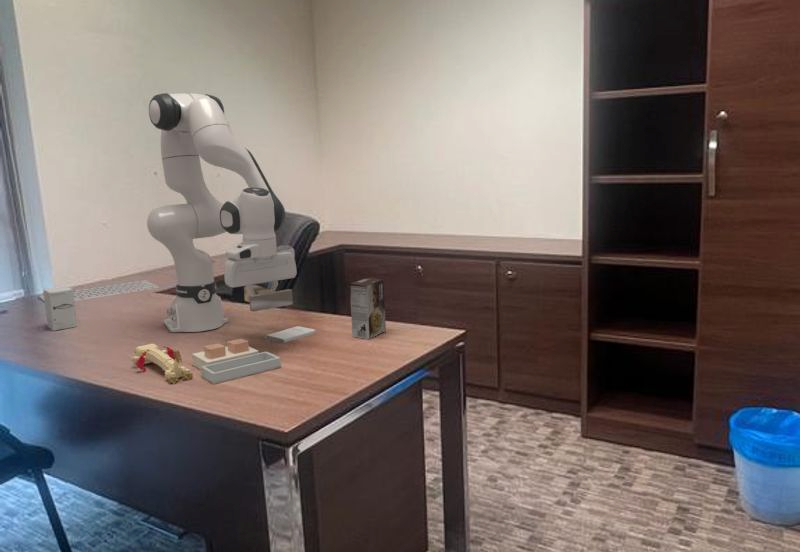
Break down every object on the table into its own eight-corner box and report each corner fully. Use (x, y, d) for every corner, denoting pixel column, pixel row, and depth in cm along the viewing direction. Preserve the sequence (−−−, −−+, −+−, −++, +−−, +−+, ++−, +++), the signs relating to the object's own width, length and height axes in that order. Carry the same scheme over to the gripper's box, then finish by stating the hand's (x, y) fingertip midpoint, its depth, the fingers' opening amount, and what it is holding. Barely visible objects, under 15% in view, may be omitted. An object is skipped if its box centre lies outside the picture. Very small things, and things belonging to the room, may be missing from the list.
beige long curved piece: (201, 381, 169) (160, 353, 188) (199, 348, 167) (158, 323, 185) (161, 392, 163) (123, 361, 181) (159, 357, 161) (121, 330, 179)
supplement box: (53, 331, 218) (48, 292, 215) (47, 327, 223) (42, 289, 221) (77, 327, 222) (73, 289, 220) (71, 323, 228) (67, 285, 226)
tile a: (204, 355, 176) (203, 346, 175) (219, 352, 178) (218, 343, 178) (210, 359, 173) (210, 349, 172) (225, 355, 175) (225, 346, 175)
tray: (201, 376, 169) (200, 366, 169) (267, 360, 180) (266, 351, 179) (213, 384, 163) (212, 373, 163) (281, 367, 174) (280, 357, 174)
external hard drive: (265, 340, 201) (297, 330, 211) (284, 344, 196) (316, 334, 205) (265, 334, 201) (297, 325, 210) (283, 339, 196) (315, 329, 205)
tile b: (228, 350, 180) (227, 341, 179) (242, 347, 182) (241, 338, 182) (234, 353, 176) (233, 344, 176) (248, 350, 179) (248, 341, 178)
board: (192, 365, 178) (191, 353, 178) (242, 353, 187) (241, 343, 186) (208, 374, 171) (207, 362, 170) (259, 361, 179) (258, 350, 178)
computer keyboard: (47, 307, 257) (47, 302, 257) (37, 299, 271) (37, 295, 271) (162, 289, 282) (161, 285, 282) (147, 283, 297) (147, 279, 297)
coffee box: (368, 329, 207) (366, 277, 204) (386, 332, 204) (384, 278, 201) (351, 337, 199) (348, 283, 196) (369, 339, 196) (367, 284, 193)
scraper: (230, 302, 191) (229, 288, 190) (269, 296, 198) (268, 282, 197) (252, 311, 180) (251, 296, 179) (292, 304, 187) (292, 289, 187)
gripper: (288, 243, 194) (290, 290, 196) (219, 251, 181) (223, 302, 184) (299, 245, 189) (302, 294, 192) (230, 254, 176) (233, 306, 179)
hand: (263, 298), depth 188 cm, fingers closed on scraper, 3 cm apart
